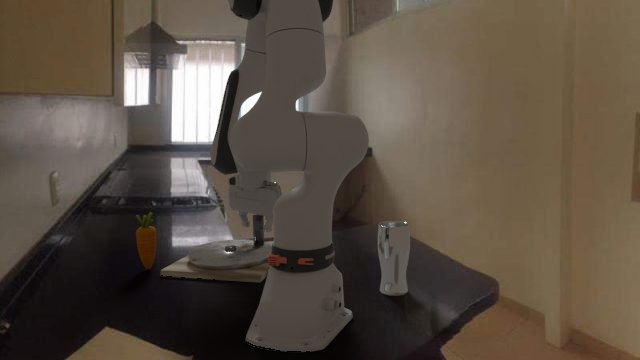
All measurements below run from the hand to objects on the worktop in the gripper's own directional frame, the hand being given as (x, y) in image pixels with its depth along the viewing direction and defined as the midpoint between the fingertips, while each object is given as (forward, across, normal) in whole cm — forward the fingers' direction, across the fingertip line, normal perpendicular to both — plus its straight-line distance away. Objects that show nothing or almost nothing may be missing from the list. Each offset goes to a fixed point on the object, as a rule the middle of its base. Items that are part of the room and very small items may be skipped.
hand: (256, 229), depth 131 cm
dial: (+6, 0, +9) cm, 11 cm away
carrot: (+8, +12, +26) cm, 30 cm away
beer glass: (+8, -44, -2) cm, 45 cm away
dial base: (+8, 0, +9) cm, 12 cm away
